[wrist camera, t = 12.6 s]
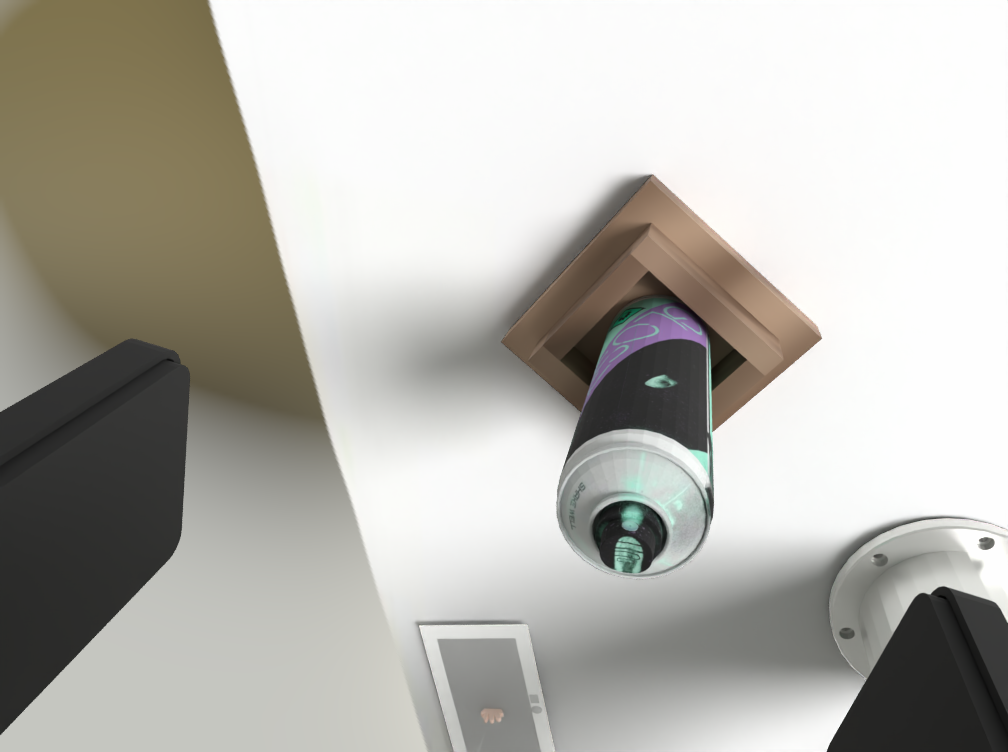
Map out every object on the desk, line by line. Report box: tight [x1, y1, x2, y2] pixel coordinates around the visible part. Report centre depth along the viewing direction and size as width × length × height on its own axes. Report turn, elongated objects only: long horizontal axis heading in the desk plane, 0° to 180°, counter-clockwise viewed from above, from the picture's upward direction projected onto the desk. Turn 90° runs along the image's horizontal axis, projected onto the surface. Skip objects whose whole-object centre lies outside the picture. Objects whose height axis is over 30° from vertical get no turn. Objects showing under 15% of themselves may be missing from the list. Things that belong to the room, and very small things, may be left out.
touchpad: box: [419, 624, 555, 752], centre depth 58 cm, size 8×15×2 cm, turn 12°
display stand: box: [501, 174, 822, 432], centre depth 43 cm, size 12×12×5 cm
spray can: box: [557, 295, 714, 579], centre depth 35 cm, size 6×6×20 cm
